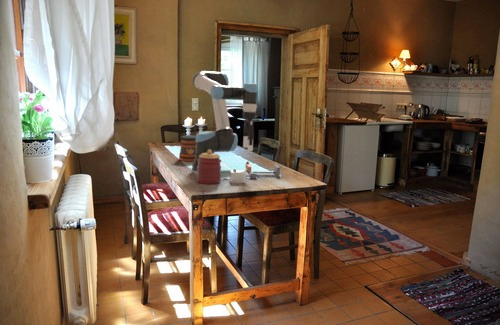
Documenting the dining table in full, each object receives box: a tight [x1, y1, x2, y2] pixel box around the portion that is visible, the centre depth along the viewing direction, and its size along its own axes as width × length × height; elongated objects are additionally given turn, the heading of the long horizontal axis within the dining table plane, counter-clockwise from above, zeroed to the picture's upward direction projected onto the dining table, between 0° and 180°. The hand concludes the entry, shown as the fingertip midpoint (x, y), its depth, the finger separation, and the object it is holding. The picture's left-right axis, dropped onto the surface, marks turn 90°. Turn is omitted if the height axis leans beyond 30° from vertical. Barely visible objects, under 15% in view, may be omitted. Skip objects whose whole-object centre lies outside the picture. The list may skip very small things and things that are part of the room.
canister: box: [196, 150, 222, 185], centre depth 208 cm, size 13×13×18 cm
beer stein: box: [178, 134, 197, 163], centre depth 267 cm, size 19×15×20 cm
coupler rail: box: [246, 164, 281, 180], centre depth 230 cm, size 22×16×6 cm
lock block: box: [229, 169, 247, 184], centre depth 212 cm, size 8×6×7 cm
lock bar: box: [245, 161, 252, 172], centre depth 240 cm, size 2×12×4 cm, turn 9°
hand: (247, 149), depth 218 cm, fingers open, 13 cm apart
